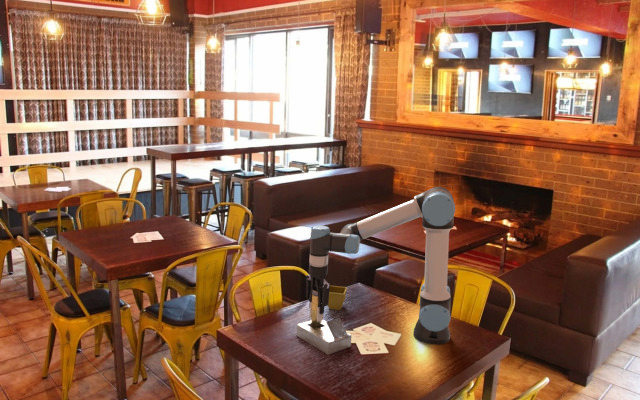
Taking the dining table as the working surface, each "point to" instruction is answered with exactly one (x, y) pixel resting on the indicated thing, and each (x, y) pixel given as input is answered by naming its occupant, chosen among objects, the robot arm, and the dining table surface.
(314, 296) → the lynch pin
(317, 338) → the block
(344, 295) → the flower pot
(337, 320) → the ring flap
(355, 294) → the dining table surface
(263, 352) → the dining table surface
